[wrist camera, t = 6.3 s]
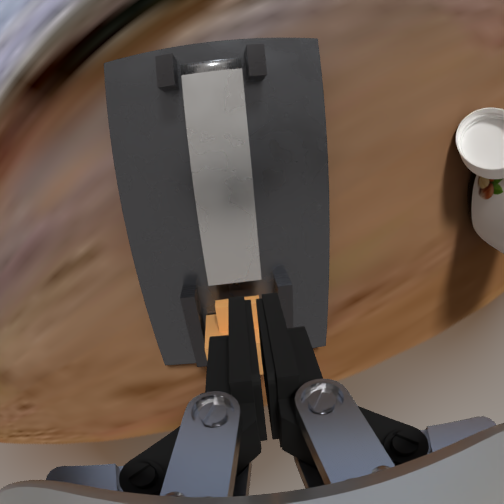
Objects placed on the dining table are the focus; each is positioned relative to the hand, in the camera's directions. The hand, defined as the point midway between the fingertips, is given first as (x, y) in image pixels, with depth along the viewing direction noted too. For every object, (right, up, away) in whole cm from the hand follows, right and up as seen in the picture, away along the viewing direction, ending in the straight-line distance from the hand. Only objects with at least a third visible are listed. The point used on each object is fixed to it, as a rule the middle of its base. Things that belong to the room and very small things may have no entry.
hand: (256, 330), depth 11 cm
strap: (-2, +8, +8) cm, 12 cm away
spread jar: (+22, +10, +12) cm, 27 cm away
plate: (-2, +5, +11) cm, 13 cm away
